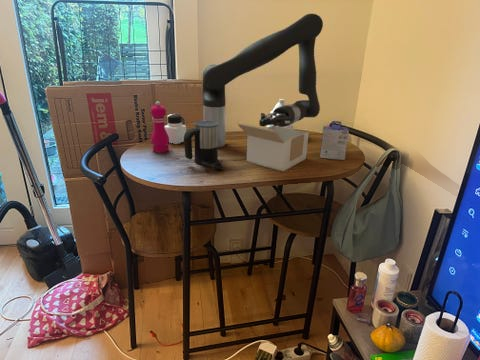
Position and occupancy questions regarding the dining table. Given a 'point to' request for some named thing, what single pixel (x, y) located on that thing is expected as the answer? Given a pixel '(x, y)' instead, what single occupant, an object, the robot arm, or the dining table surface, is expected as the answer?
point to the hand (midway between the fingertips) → (261, 123)
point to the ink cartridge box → (334, 141)
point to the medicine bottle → (175, 129)
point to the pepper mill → (159, 129)
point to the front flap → (260, 132)
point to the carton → (278, 149)
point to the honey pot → (279, 104)
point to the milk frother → (203, 143)
